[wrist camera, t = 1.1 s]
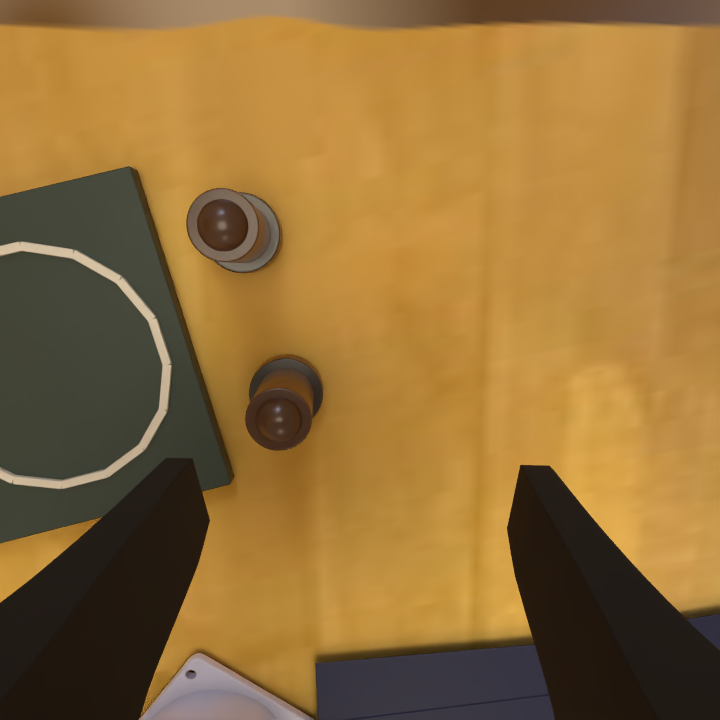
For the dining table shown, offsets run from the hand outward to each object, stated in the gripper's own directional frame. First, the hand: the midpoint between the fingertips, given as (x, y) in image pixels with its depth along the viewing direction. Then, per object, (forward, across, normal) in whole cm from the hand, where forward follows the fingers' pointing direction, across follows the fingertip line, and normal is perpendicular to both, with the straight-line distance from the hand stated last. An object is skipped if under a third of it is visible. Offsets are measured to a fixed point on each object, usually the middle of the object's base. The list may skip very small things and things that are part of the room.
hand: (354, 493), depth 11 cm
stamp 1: (+12, +5, -2) cm, 14 cm away
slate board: (+9, +18, +4) cm, 20 cm away
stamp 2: (+10, +4, +4) cm, 12 cm away
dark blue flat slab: (+2, -10, +31) cm, 33 cm away
